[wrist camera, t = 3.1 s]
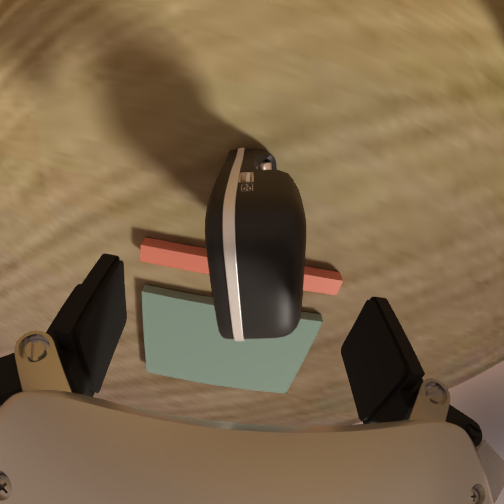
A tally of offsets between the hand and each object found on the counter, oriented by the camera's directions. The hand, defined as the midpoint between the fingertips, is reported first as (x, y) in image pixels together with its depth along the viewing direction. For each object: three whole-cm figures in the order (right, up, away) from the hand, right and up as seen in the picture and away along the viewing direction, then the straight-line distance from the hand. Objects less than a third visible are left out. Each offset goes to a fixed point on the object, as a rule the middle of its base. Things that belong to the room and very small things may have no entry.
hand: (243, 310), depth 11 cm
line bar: (0, +1, +13) cm, 13 cm away
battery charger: (+1, +6, +10) cm, 12 cm away
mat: (-2, -7, +18) cm, 20 cm away
